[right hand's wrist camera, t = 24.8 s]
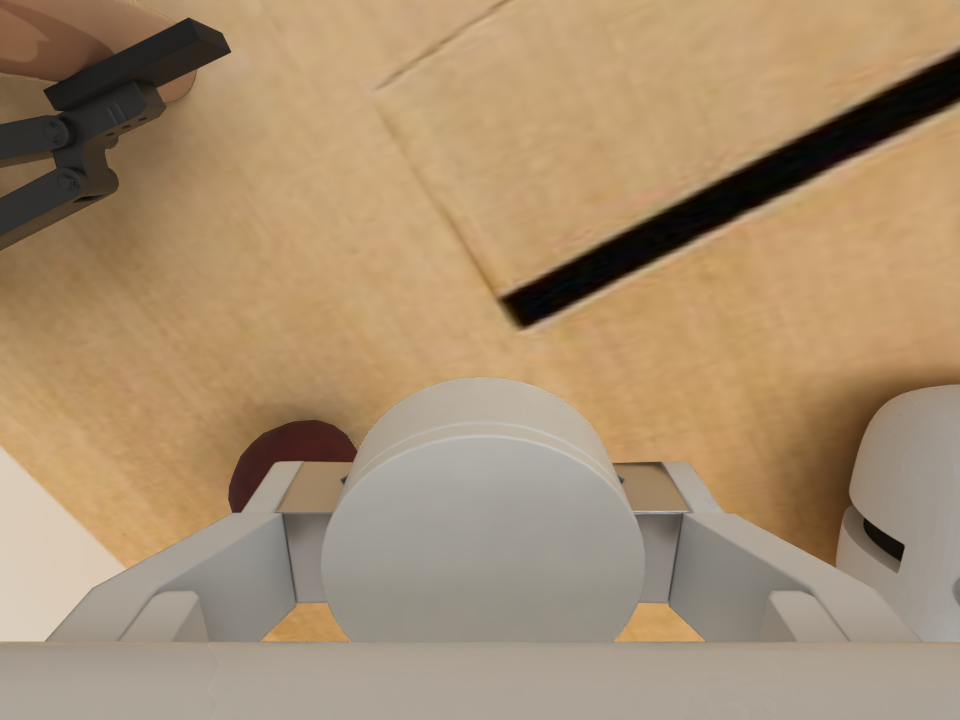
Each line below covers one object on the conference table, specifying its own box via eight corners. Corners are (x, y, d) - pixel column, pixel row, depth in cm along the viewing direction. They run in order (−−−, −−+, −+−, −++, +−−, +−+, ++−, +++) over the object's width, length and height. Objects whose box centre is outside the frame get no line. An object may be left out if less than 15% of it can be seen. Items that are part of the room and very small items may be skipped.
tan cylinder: (122, 98, 28) (-250, 39, 14) (109, 8, 27) (-319, -162, 12) (200, 105, 28) (-88, 53, 14) (192, 16, 27) (-138, -144, 13)
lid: (621, 370, 9) (660, 430, 7) (606, 594, 11) (634, 692, 9) (335, 379, 9) (296, 440, 7) (365, 600, 11) (340, 699, 9)
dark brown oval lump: (242, 471, 36) (187, 542, 29) (290, 378, 34) (242, 433, 27) (342, 519, 37) (311, 598, 31) (395, 434, 35) (374, 499, 28)
